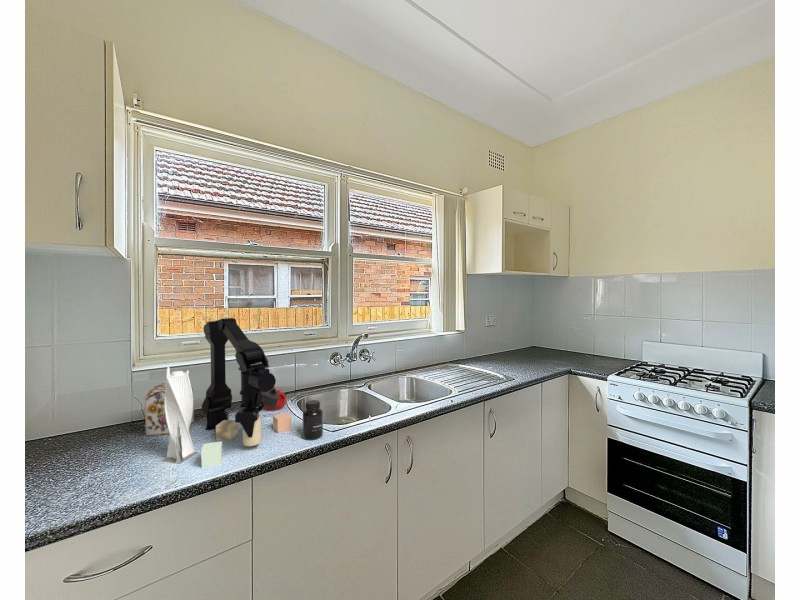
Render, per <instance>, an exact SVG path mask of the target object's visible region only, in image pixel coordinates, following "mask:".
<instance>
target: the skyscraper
mask: <svg viewBox="0 0 800 600" xmlns="http://www.w3.org/2000/svg"><path fill="white" fill-rule="evenodd" d="M170 372H171V371H170V366H167V367H166V378H165V379H166V380H167V382H166V388H165V400H164V406H165V416H166V422H167V426H168V430H169V433H170V434H169V440H168V447H167V452H166V457H164V458H162V459H161V460H160V461H161V462H166V463H170V464H171V463H173V464H178V465H180V464H182V463H184V462H186V461H187V460H189V459H191V458H192V457H195V456H196V455H198V454H199V452H198V451H195V448H194V444H193V441H192V438H191V434H190V431H189V430H190V426H191V424H190V422H191V418H192V411H193V405H194V393H193V394H192V388H193V387H192V384H191V380H190V376H189V373H190V371H189V370H186V372H184V371H183V370H175V371H172V372H171V373H170ZM191 387H192V388H191Z"/></svg>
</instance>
